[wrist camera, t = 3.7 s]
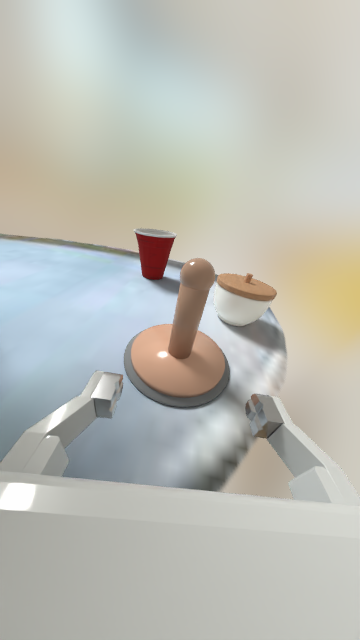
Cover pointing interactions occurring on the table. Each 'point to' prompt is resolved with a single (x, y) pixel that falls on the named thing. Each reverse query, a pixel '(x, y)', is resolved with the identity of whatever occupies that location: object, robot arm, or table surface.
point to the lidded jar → (241, 298)
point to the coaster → (169, 399)
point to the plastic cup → (154, 251)
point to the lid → (181, 342)
